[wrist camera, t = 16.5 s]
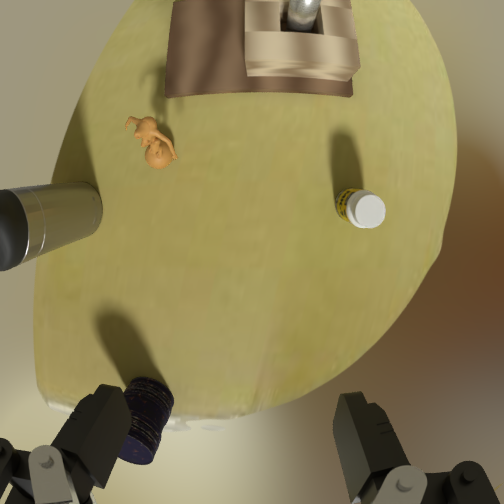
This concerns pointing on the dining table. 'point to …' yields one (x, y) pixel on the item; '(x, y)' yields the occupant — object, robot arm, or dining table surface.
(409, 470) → the robot arm
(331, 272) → the dining table surface
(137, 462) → the storage jar
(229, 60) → the walnut board
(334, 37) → the beech bead block
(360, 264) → the dining table surface
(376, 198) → the supplement bottle
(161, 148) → the figurine
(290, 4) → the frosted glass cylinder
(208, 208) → the dining table surface
